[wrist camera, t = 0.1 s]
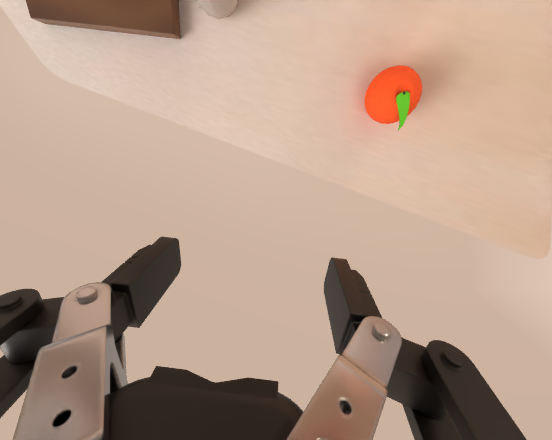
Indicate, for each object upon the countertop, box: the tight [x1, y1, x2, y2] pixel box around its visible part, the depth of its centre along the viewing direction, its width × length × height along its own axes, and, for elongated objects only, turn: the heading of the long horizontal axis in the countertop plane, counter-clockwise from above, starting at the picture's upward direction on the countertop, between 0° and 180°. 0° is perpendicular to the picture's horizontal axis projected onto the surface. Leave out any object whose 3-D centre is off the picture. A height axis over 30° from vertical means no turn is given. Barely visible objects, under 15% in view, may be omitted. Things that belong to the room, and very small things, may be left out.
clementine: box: [365, 66, 422, 130], centre depth 30 cm, size 8×7×7 cm
